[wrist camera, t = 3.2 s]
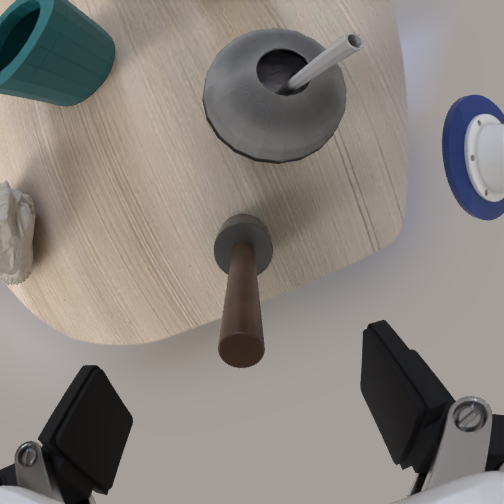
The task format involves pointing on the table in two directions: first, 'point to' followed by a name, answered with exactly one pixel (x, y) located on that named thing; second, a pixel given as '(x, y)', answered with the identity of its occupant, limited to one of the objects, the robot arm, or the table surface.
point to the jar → (52, 52)
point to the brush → (242, 288)
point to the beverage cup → (277, 93)
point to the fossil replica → (15, 234)
